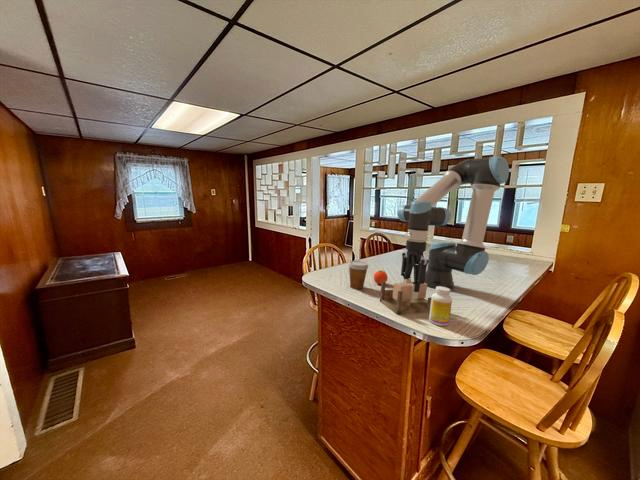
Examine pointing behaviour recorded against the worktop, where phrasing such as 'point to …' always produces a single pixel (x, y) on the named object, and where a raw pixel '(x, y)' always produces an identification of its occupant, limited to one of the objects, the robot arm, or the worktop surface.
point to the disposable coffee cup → (357, 274)
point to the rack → (403, 302)
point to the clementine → (380, 277)
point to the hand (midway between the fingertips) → (409, 296)
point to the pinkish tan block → (408, 290)
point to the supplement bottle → (440, 306)
